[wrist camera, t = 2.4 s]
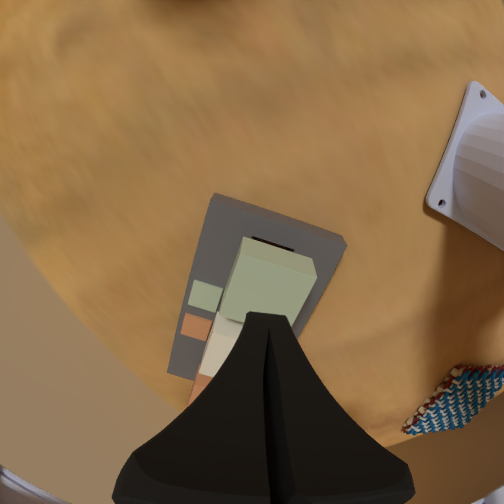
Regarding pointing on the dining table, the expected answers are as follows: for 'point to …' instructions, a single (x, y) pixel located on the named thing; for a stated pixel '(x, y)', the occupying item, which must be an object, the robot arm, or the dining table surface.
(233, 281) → the key sage
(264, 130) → the dining table surface
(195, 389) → the key rust
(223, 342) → the cream cube block
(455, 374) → the woven mat
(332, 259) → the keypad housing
